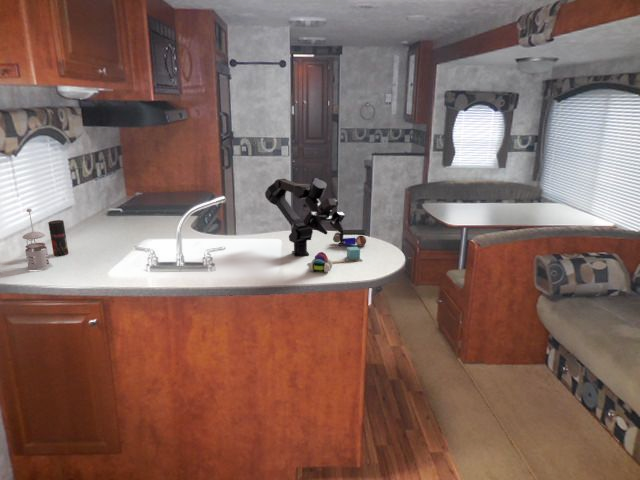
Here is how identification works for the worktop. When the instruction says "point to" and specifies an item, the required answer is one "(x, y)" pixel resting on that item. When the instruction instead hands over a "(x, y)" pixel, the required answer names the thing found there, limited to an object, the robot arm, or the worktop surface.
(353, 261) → the brown segmented strip
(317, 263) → the multicolored white-lobed toy
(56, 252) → the deodorant
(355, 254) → the teal cube
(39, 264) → the french press
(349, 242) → the figurine character
